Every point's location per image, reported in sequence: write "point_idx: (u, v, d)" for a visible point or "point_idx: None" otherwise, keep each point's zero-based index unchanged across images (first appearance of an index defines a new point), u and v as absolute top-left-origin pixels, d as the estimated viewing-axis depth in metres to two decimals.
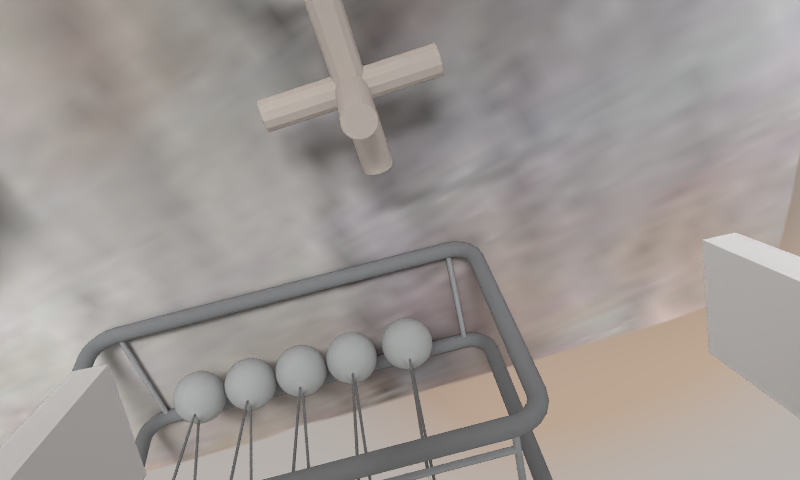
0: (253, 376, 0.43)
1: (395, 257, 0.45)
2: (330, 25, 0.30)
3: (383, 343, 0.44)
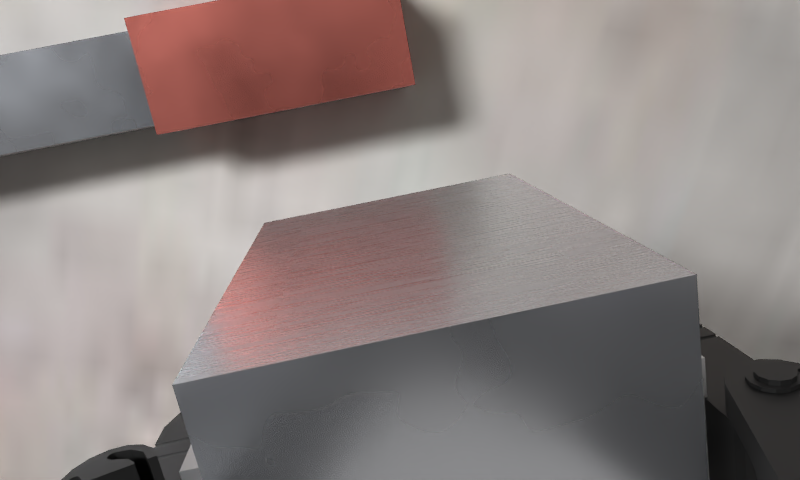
0: None
1: None
2: None
3: None
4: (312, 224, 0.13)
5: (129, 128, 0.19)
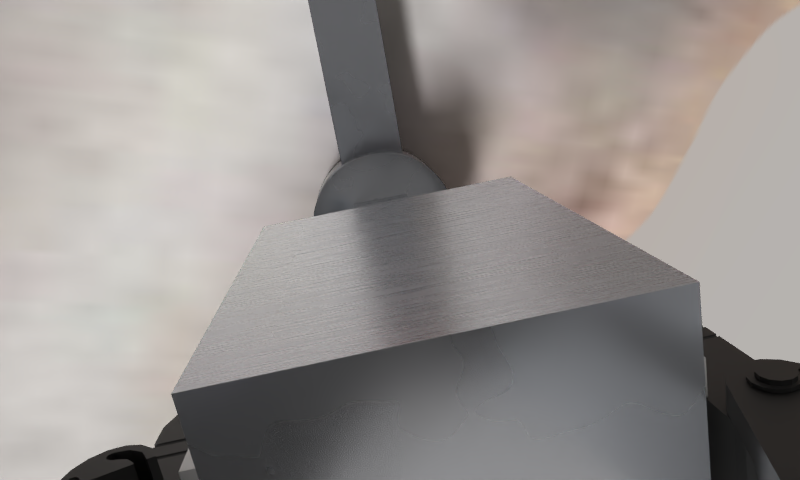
0: None
1: None
2: None
3: None
4: (312, 228, 0.13)
5: None
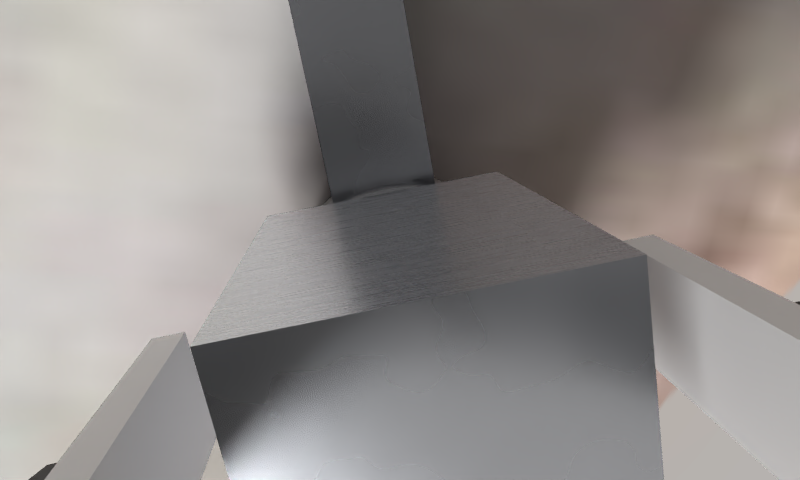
0: None
1: None
2: None
3: None
4: (312, 216, 0.14)
5: None
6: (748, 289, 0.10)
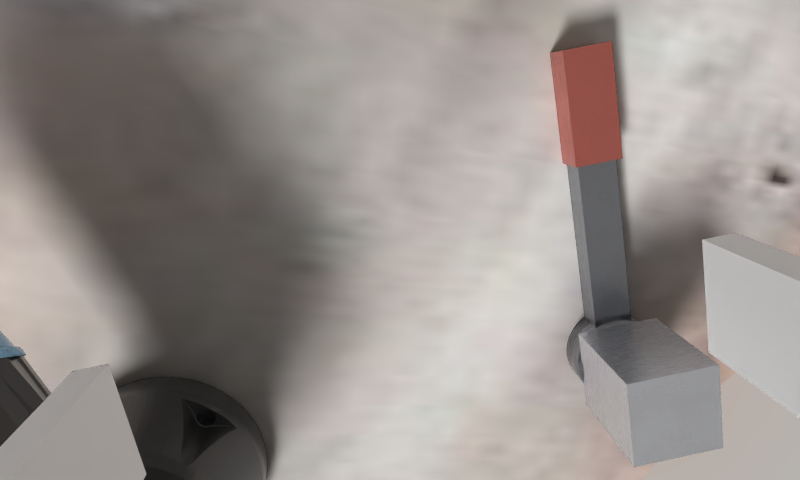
0: None
1: None
2: None
3: None
4: (601, 337, 0.44)
5: (616, 170, 0.43)
6: None
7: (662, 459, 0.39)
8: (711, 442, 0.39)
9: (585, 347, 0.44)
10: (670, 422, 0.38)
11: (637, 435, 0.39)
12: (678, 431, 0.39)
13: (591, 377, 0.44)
